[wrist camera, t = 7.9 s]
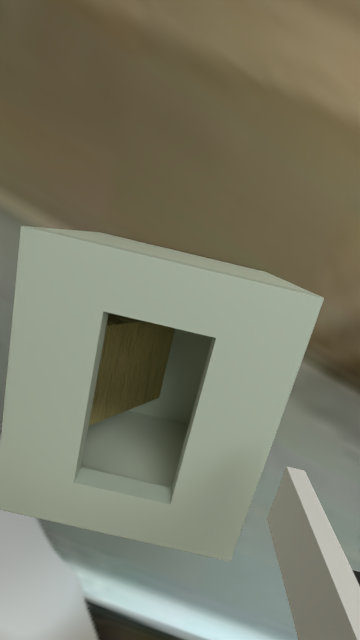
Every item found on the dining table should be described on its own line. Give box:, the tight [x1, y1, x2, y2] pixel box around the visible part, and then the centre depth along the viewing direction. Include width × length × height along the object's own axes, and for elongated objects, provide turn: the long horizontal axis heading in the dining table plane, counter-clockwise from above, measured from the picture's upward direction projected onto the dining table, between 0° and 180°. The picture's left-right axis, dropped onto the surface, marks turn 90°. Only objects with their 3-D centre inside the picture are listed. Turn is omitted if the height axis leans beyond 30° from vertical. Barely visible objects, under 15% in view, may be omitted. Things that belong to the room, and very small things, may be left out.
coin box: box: [0, 226, 324, 561], centre depth 22 cm, size 16×14×12 cm
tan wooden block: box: [89, 313, 175, 425], centre depth 23 cm, size 7×3×7 cm
